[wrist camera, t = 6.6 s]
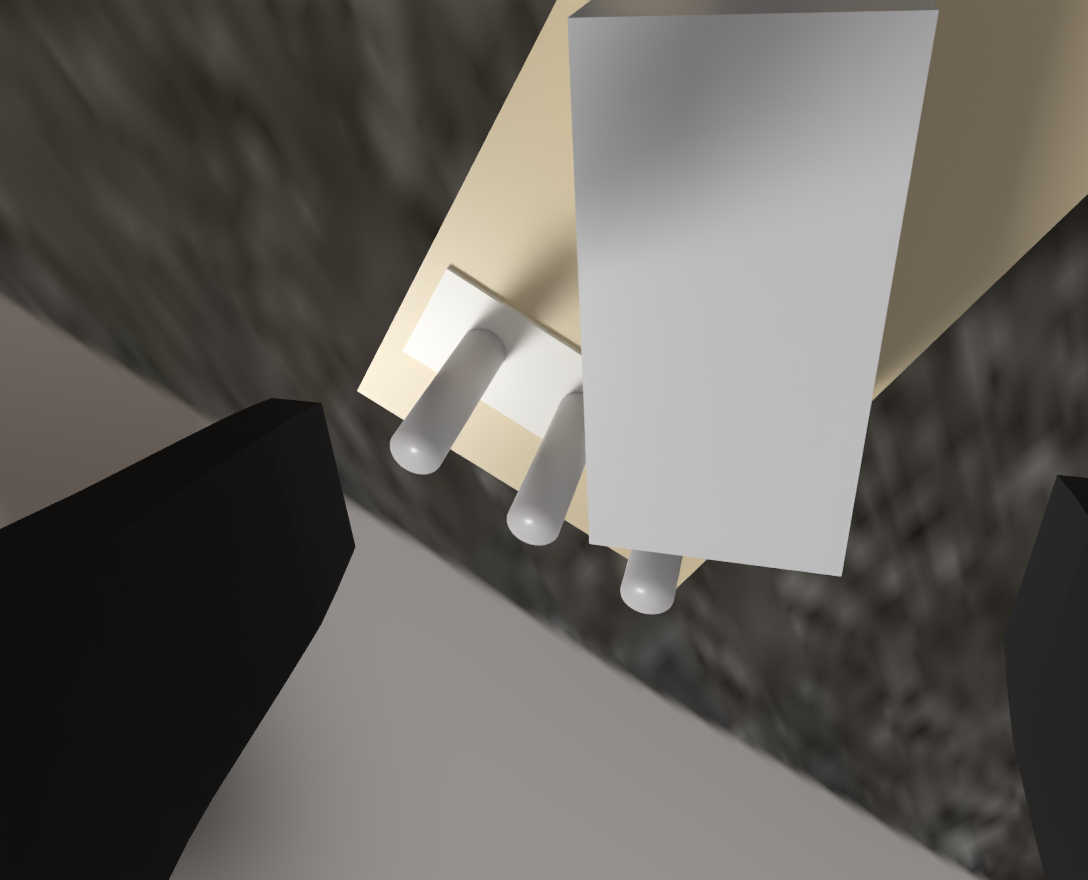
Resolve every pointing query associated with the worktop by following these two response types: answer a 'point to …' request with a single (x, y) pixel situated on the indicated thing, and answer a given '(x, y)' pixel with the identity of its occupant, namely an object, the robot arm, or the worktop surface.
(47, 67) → the worktop surface
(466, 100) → the worktop surface
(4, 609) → the robot arm
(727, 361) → the plug housing
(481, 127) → the worktop surface
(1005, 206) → the board
